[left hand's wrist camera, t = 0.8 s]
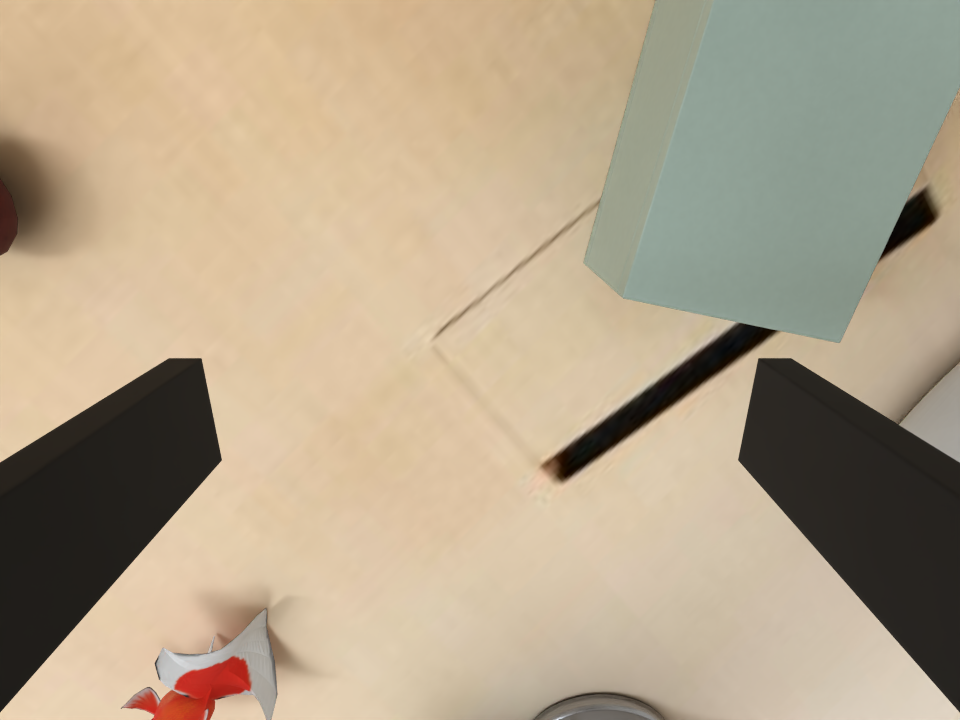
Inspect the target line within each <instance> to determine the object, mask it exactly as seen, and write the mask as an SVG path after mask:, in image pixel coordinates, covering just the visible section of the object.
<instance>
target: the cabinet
mask: <svg viewBox="0 0 960 720" xmlns="http://www.w3.org/2000/svg"><path fill="white" fill-rule="evenodd" d="M959 88H960V0H655V4H654V8H653V11H652V15H651V18H650V22H649V26H648V29H647V33H646V37H645V40H644V44H643V48H642V51H641V55H640V58H639V62H638V66H637V69H636V73H635V77H634V80H633V84H632V88H631V91H630V95H629V99H628V102H627V106H626V109H625V113H624V117H623V120H622V124H621V128H620V131H619V135H618V139H617V142H616V146H615V149H614V153H613V157H612V160H611V164H610V168H609V171H608V175H607V179H606V182H605V186H604V190H603V193H602V197H601V200H600V204H599V208H598V211H597V215H596V219H595V222H594V226H593V230H592V233H591V237H590V240H589V244H588V248H587V251H586V255H585V259H584V262H583V263H584V264H585V265H586V266H587V267H588V268H590V269H591V270H592V271H593V272H594V273H595V274H596V275H597V276H599V277H600V278H601V279H602V280H603V281H604V282H605V283H606V284H608V285H609V286H610V287H611V288H612V289H613V290H614V291H615V292H616V293H618V294H619V295H620V296H621V297H622V298H624V299H629V300H634V301H638V302H643V303H648V304H653V305H658V306H663V307H667V308H672V309H677V310H682V311H687V312H692V313H696V314H701V315H706V316H711V317H716V318H720V319H725V320H730V321H735V322H740V323H745V324H749V325H754V326H759V327H764V328H769V329H774V330H778V331H783V332H788V333H793V334H798V335H803V336H807V337H812V338H817V339H822V340H827V341H832V342H836V343H840V341H841V339H842V337H843V335H844V333H845V331H846V329H847V327H848V324H849V322H850V320H851V318H852V316H853V314H854V312H855V309H856V307H857V305H858V303H859V301H860V299H861V297H862V295H863V292H864V290H865V288H866V286H867V284H868V282H869V280H870V277H871V275H872V273H873V271H874V269H875V267H876V265H877V263H878V260H879V258H880V256H881V254H882V252H883V250H884V248H885V245H886V243H887V241H888V239H889V237H890V235H891V233H892V231H893V228H894V226H895V224H896V222H897V220H898V218H899V216H900V213H901V211H902V209H903V207H904V205H905V203H906V201H907V199H908V196H909V194H910V192H911V190H912V188H913V186H914V184H915V181H916V179H917V177H918V175H919V173H920V171H921V169H922V167H923V164H924V162H925V160H926V158H927V156H928V154H929V152H930V149H931V147H932V145H933V143H934V141H935V139H936V137H937V135H938V132H939V130H940V128H941V126H942V124H943V122H944V120H945V117H946V115H947V113H948V111H949V109H950V107H951V105H952V103H953V100H954V98H955V96H956V94H957V92H958V90H959Z"/></svg>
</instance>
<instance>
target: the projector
mask: <svg viewBox="0 0 960 720" xmlns="http://www.w3.org/2000/svg"><path fill="white" fill-rule="evenodd" d="M899 425H900V426H901V427H903V428H905V429H906V430H908V431H909V432H911V433H913V434H914V435H916V436H918V437H919V438H921V439H922V440H924V441H926V442H927V443H929V444H931V445H932V446H934V447H935V448H937V449H939V450H940V451H942V452H943V453H945V454H947V455H948V456H950V457H952V458H953V459H955V460H956V461H958V462H960V362H959V363H958V364H957V365H956V366H955V367H954V368H953V369H952V370H951V371H950V372H949V373H948V374H947V375H945V376H944V377H943V378H942V379H941V380H940V381H939V382H938V383H937V384H936V385H935V386H934V387H933V388H932V389H931V390H930V391H929V392H928V393H927V394H926V396H925V397H924V398H923V399H922V400H921V401H920V402H919V403H918V404H917V405H916V406H915V407H914V408H913V409H912V410H911V412H910V413H909V414H908V415H907V416H906V417H905V418H904V419H903V421H902V422H901V423H900V424H899Z"/></svg>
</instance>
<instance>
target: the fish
mask: <svg viewBox="0 0 960 720" xmlns="http://www.w3.org/2000/svg"><path fill="white" fill-rule="evenodd" d="M266 624H267V609H266V608H265V609H264V610H263V611H262V612H261V613H259V614H258V615H257V616H256V617H255V618H254V619H253V621H252V622H251V623H250V624H249V625H248V626H247V627H246V628H245V629H244V631H243V632H242V633H240V634H239V635H238V636H237V637H236V638H235V639H233V640H232V641H231V642H230V643H228V644H227V645H226V646H225V647H223V648H222V649H221V650H217V651H214V652H212V647H213V642H214V638H215V636H214V637H213V640H212V642H211V645H210V648H209V651H208V653H207V654H179V653H172V652H170V651H168V650H167V649H165V648H163V649H162V651H161V652H160V654H159V656H158V658H157V660H156V662H155V666H156V670H157V674H158V677H159V680H160V681H161V682H162V683H163V684H164V685H165V686H167V687H169V688H170V689H172V690H171V691H170V692H168V693H167V694H166V695H165V696H164V697H163V698H162V700H161V701H160V699H159V697H158V695H157V694H156V692H155V691H154V690H153V689H152V688H150V687H147V688H145V689H143V690H141V691H140V692H138V693H136V694H135V695H134V696H133V697H132V698H131V699H130V700H129V701H128V702H127V703H126V704H125V705H124V706H123V707H122V708H131V709H133V708H137V709H140V710H145V711H147V712H149V713H151V714H153V715H154V718H153V719H152V720H210V718H211V716H212V714H213V712H214V709H215V699H221V698H225V697H229V696H233V695H237V694H243V695H254V696H255V697H256V698H257V700H258V701H259V703H260V705H261V707H262V709H263V711H264V714H265V717H266V720H271V719H272V715H273V711H274V706H275V702H276V698H277V684H276V671H275V661H274V656H273V652H272V648H271V643H270V639H269V635H268V630H267V626H266ZM122 708H121V709H122Z"/></svg>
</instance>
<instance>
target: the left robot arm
mask: <svg viewBox="0 0 960 720" xmlns="http://www.w3.org/2000/svg"><path fill="white" fill-rule="evenodd" d="M221 461H222V459H221V454H220V449H219V444H218V439H217V434H216V429H215V424H214V419H213V414H212V409H211V404H210V399H209V394H208V389H207V384H206V379H205V374H204V369H203V364H202V359H201V358H169V359H167V360H166V361H164V362H162V363H161V364H159V365H157V366H156V367H154V368H153V369H151V370H149V371H148V372H146V373H145V374H143V375H141V376H140V377H138V378H136V379H135V380H133V381H132V382H130V383H128V384H127V385H125V386H123V387H122V388H120V389H119V390H117V391H115V392H114V393H112V394H111V395H109V396H107V397H106V398H104V399H102V400H101V401H99V402H98V403H96V404H94V405H93V406H91V407H89V408H88V409H86V410H85V411H83V412H81V413H80V414H78V415H76V416H75V417H73V418H72V419H70V420H68V421H67V422H65V423H64V424H62V425H60V426H59V427H57V428H55V429H54V430H52V431H51V432H49V433H47V434H46V435H44V436H42V437H41V438H39V439H38V440H36V441H34V442H33V443H31V444H29V445H28V446H26V447H25V448H23V449H21V450H20V451H18V452H17V453H15V454H13V455H12V456H10V457H8V458H7V459H5V460H4V461H2V462H0V712H1V711H2V710H3V709H4V707H5V706H6V705H7V704H8V703H9V702H10V701H11V699H12V698H13V697H14V696H15V695H16V694H17V693H18V691H19V690H20V689H21V688H22V687H23V686H24V685H25V684H26V682H27V681H28V680H29V679H30V678H31V677H32V676H33V674H34V673H35V672H36V671H37V670H38V669H39V668H40V666H41V665H42V664H43V663H44V662H45V661H46V660H47V658H48V657H49V656H50V655H51V654H52V653H53V652H54V651H55V649H56V648H57V647H58V646H59V645H60V644H61V643H62V641H63V640H64V639H65V638H66V637H67V636H68V635H69V633H70V632H71V631H72V630H73V629H74V628H75V627H76V625H77V624H78V623H79V622H80V621H81V620H82V619H83V618H84V616H85V615H86V614H87V613H88V612H89V611H90V610H91V608H92V607H93V606H94V605H95V604H96V603H97V602H98V600H99V599H100V598H101V597H102V596H103V595H104V594H105V592H106V591H107V590H108V589H109V588H110V587H111V586H112V585H113V583H114V582H115V581H116V580H117V579H118V578H119V577H120V575H121V574H122V573H123V572H124V571H125V570H126V569H127V567H128V566H129V565H130V564H131V563H132V562H133V561H134V560H135V558H136V557H137V556H138V555H139V554H140V553H141V552H142V550H143V549H144V548H145V547H146V546H147V545H148V544H149V542H150V541H151V540H152V539H153V538H154V537H155V536H156V534H157V533H158V532H159V531H160V530H161V529H162V528H163V527H164V525H165V524H166V523H167V522H168V521H169V520H170V519H171V517H172V516H173V515H174V514H175V513H176V512H177V511H178V509H179V508H180V507H181V506H182V505H183V504H184V503H185V501H186V500H187V499H188V498H189V497H190V496H191V495H192V494H193V492H194V491H195V490H196V489H197V488H198V487H199V486H200V484H201V483H202V482H203V481H204V480H205V479H206V478H207V476H208V475H209V474H210V473H211V472H212V471H213V470H214V468H215V467H216V466H217V465H218V464H219V463H220V462H221ZM738 461H739V462H740V463H741V464H742V465H743V466H744V467H745V468H746V470H747V471H748V472H749V473H750V474H751V475H752V476H753V478H754V479H755V480H756V481H757V482H758V483H759V484H760V486H761V487H762V488H763V489H764V490H765V491H766V492H767V494H768V495H769V496H770V497H771V498H772V499H773V500H774V501H775V503H776V504H777V505H778V506H779V507H780V508H781V509H782V511H783V512H784V513H785V514H786V515H787V516H788V517H789V519H790V520H791V521H792V522H793V523H794V524H795V525H796V527H797V528H798V529H799V530H800V531H801V532H802V533H803V534H804V536H805V537H806V538H807V539H808V540H809V541H810V542H811V544H812V545H813V546H814V547H815V548H816V549H817V550H818V552H819V553H820V554H821V555H822V556H823V557H824V558H825V560H826V561H827V562H828V563H829V564H830V565H831V566H832V567H833V569H834V570H835V571H836V572H837V573H838V574H839V575H840V577H841V578H842V579H843V580H844V581H845V582H846V583H847V585H848V586H849V587H850V588H851V589H852V590H853V591H854V592H855V594H856V595H857V596H858V597H859V598H860V599H861V600H862V602H863V603H864V604H865V605H866V606H867V607H868V608H869V610H870V611H871V612H872V613H873V614H874V615H875V616H876V618H877V619H878V620H879V621H880V622H881V623H882V624H883V625H884V627H885V628H886V629H887V630H888V631H889V632H890V633H891V635H892V636H893V637H894V638H895V639H896V640H897V641H898V643H899V644H900V645H901V646H902V647H903V648H904V649H905V651H906V652H907V653H908V654H909V655H910V656H911V657H912V658H913V660H914V661H915V662H916V663H917V664H918V665H919V666H920V668H921V669H922V670H923V671H924V672H925V673H926V674H927V676H928V677H929V678H930V679H931V680H932V681H933V682H934V684H935V685H936V686H937V687H938V688H939V689H940V690H941V691H942V693H943V694H944V695H945V696H946V697H947V698H948V699H949V701H950V702H951V703H952V704H953V705H954V706H955V707H956V709H957V710H958V711H959V712H960V462H958V461H956V460H955V459H953V458H952V457H950V456H948V455H947V454H945V453H943V452H942V451H940V450H939V449H937V448H935V447H934V446H932V445H931V444H929V443H927V442H926V441H924V440H922V439H921V438H919V437H918V436H916V435H914V434H913V433H911V432H909V431H908V430H906V429H905V428H903V427H901V426H900V425H898V424H896V423H895V422H893V421H892V420H890V419H888V418H887V417H885V416H884V415H882V414H880V413H879V412H877V411H875V410H874V409H872V408H871V407H869V406H867V405H866V404H864V403H862V402H861V401H859V400H858V399H856V398H854V397H853V396H851V395H849V394H848V393H846V392H845V391H843V390H841V389H840V388H838V387H837V386H835V385H833V384H832V383H830V382H828V381H827V380H825V379H824V378H822V377H820V376H819V375H817V374H815V373H814V372H812V371H811V370H809V369H807V368H806V367H804V366H803V365H801V364H799V363H798V362H796V361H794V360H793V359H791V358H759V359H758V364H757V369H756V374H755V379H754V384H753V389H752V394H751V399H750V404H749V409H748V414H747V419H746V424H745V429H744V434H743V439H742V444H741V449H740V454H739V459H738ZM534 720H664V719H663V717H662V716H661V715H660V714H659V713H658V712H657V711H655V710H654V709H653V708H651V707H649V706H648V705H646V704H644V703H642V702H640V701H637V700H634V699H631V698H628V697H623V696H618V695H607V694H596V695H586V696H580V697H576V698H572V699H569V700H565V701H563V702H560V703H558V704H556V705H554V706H552V707H550V708H548V709H547V710H545V711H544V712H542V713H541V714H540V715H538V716H537V717H536V718H535V719H534Z"/></svg>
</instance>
